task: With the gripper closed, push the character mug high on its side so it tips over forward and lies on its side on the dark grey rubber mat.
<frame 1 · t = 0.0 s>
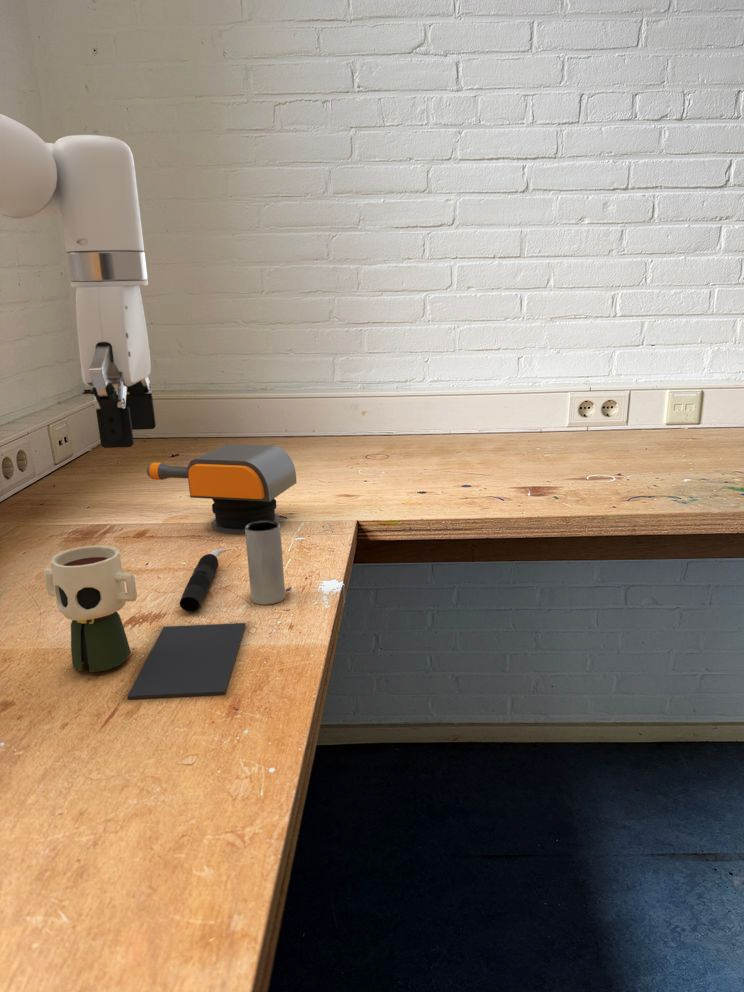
hand: (130, 437, 87), 25 cm above the table, tool pointing down, fingers open, 9 cm apart
mat: (192, 659, 91), on the table
grey hollow cylinder: (268, 599, 107), on the table
character mug: (102, 665, 90), on the table
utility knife: (208, 586, 112), on the table
toy turret: (219, 523, 141), on the table
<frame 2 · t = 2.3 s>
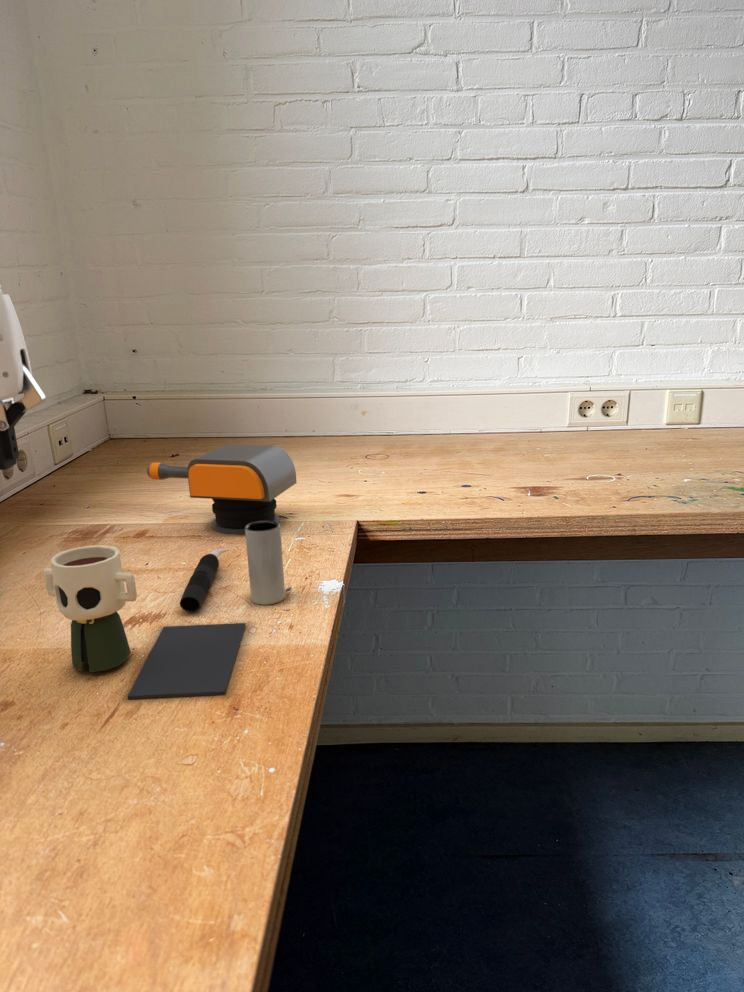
nothing on the table moved.
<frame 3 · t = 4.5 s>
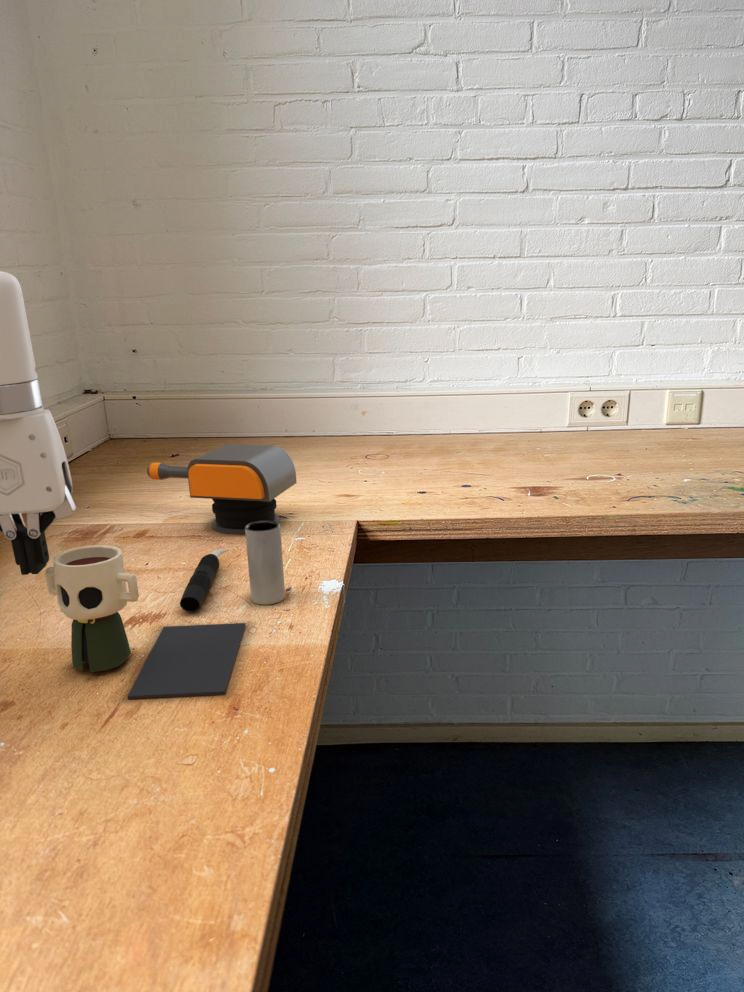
hand: (34, 569, 86), 12 cm above the table, tool pointing down, fingers closed
character mug: (102, 664, 90), on the table, touching gripper
everything else where it was.
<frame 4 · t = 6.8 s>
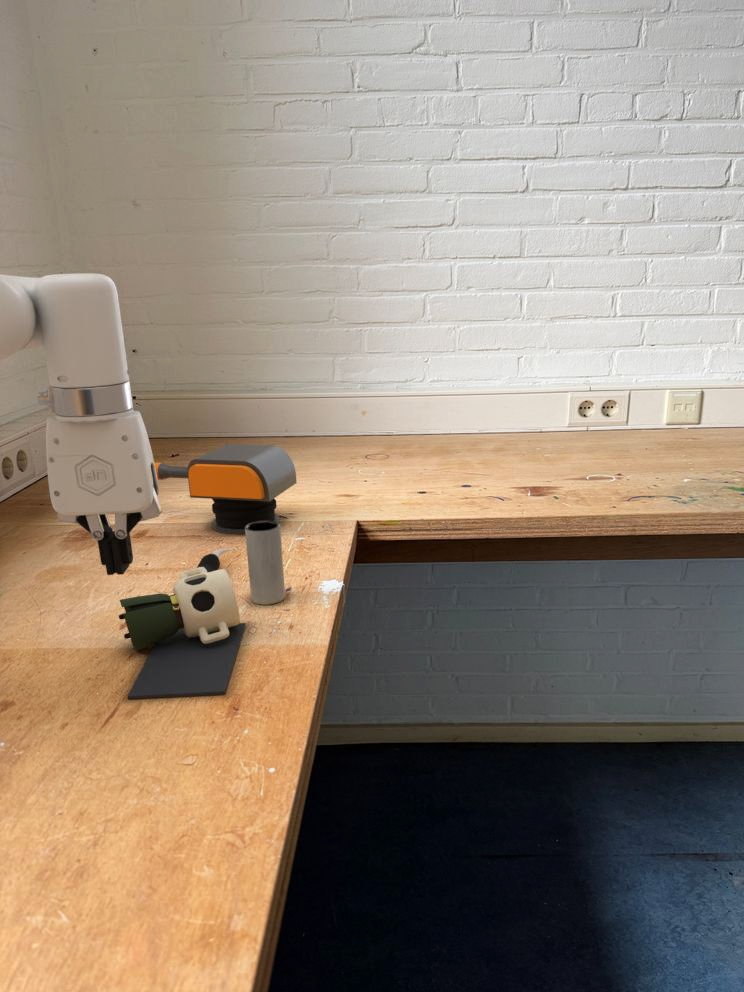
hand: (118, 570, 87), 11 cm above the table, tool pointing down, fingers closed
character mug: (119, 627, 92), point 3 cm above the table, touching mat
everything else where it was.
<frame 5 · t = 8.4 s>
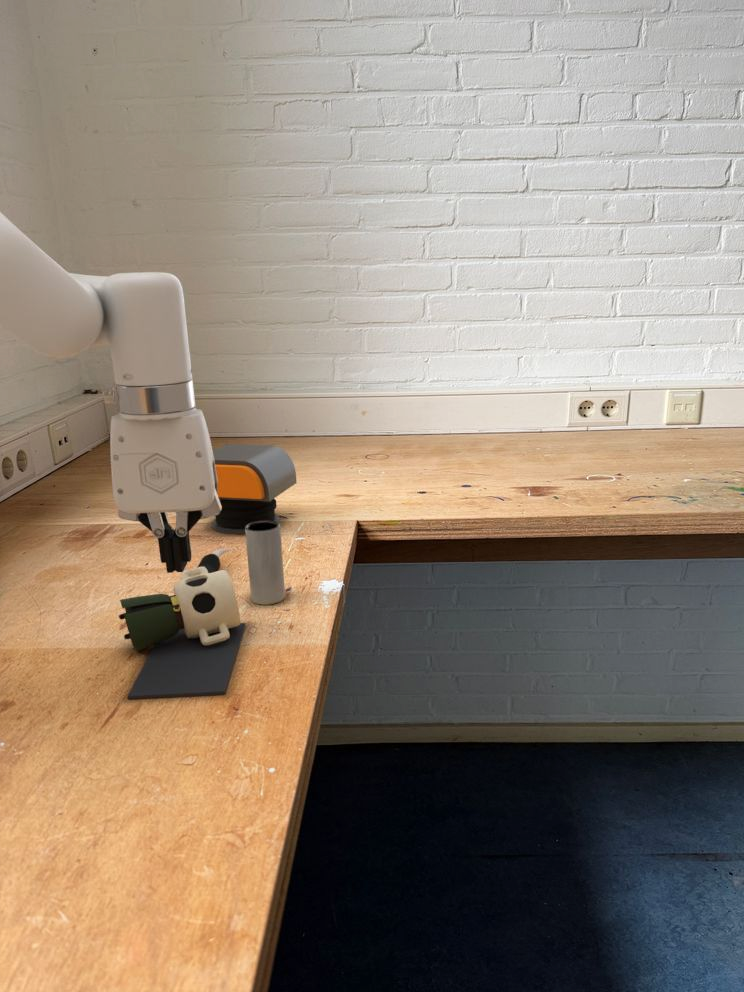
hand: (177, 567, 87), 11 cm above the table, tool pointing down, fingers closed
nothing on the table moved.
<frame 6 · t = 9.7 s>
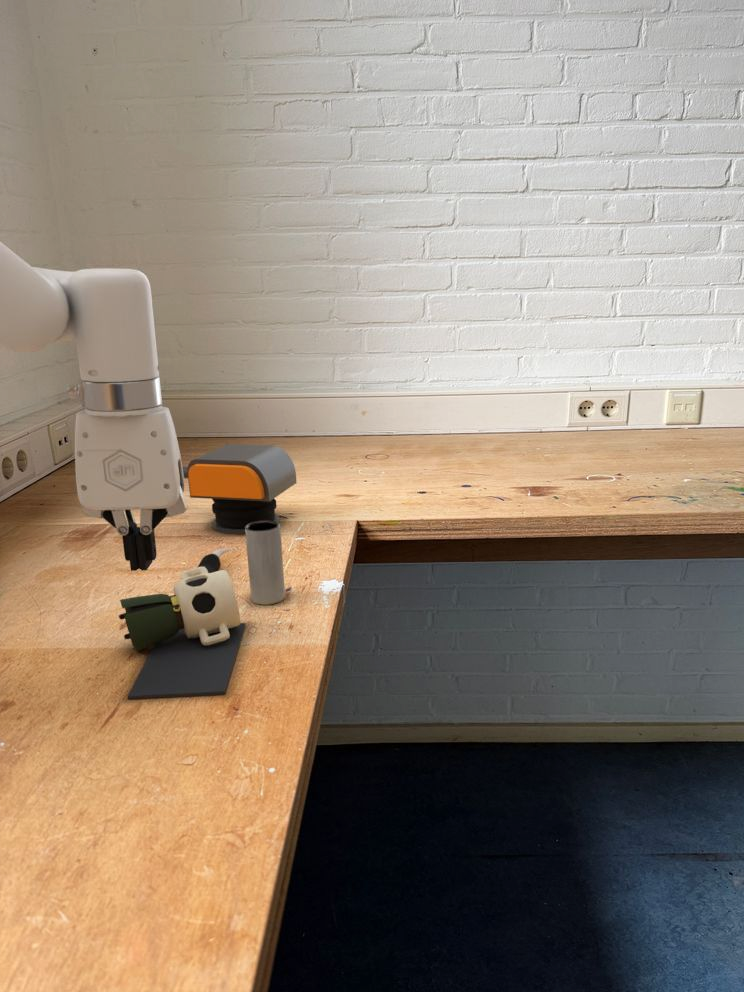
hand: (142, 566, 87), 12 cm above the table, tool pointing down, fingers closed
nothing on the table moved.
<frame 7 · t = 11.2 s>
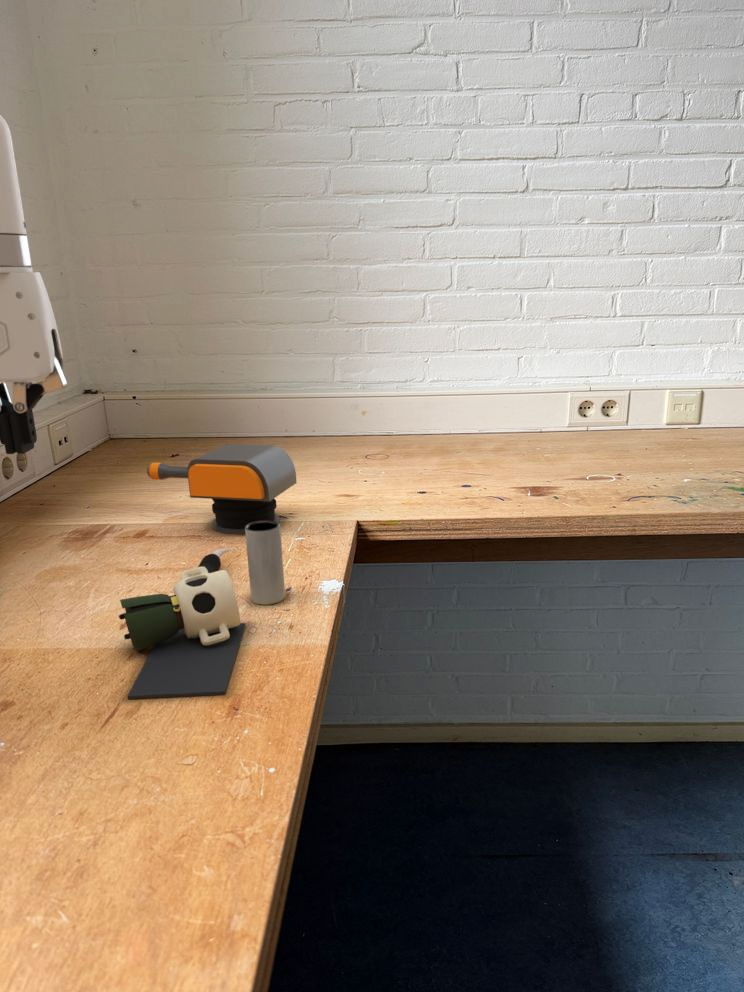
hand: (20, 450, 80), 25 cm above the table, tool pointing down, fingers closed
nothing on the table moved.
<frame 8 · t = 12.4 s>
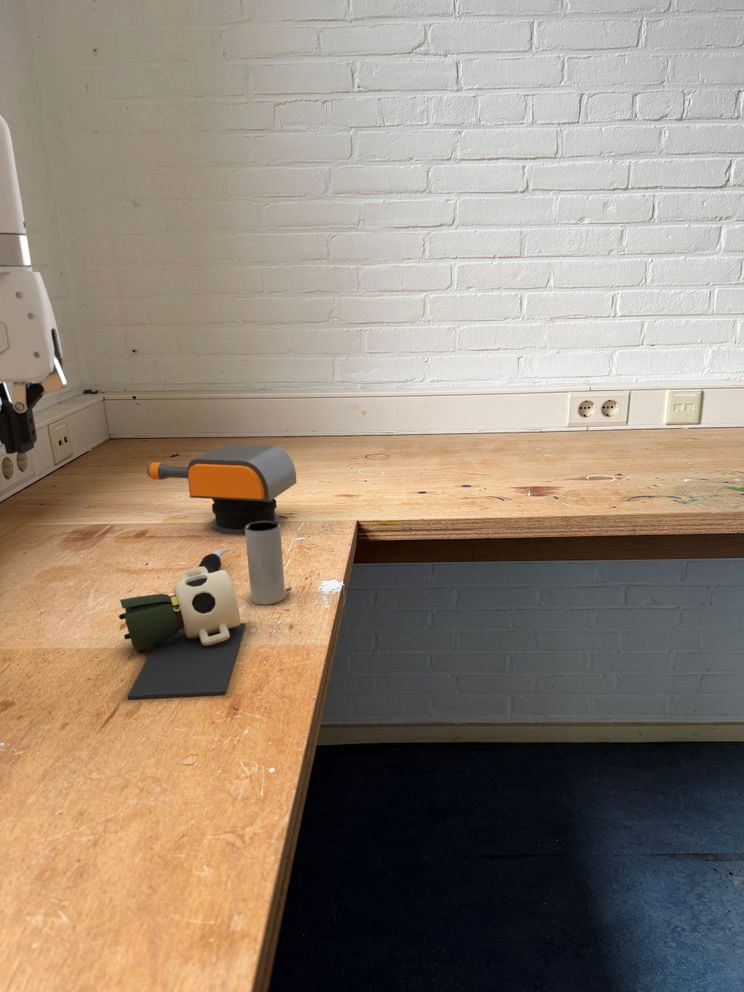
hand: (20, 450, 80), 25 cm above the table, tool pointing down, fingers closed
nothing on the table moved.
at the end: character mug tilted 84°; character mug inside the target area (6.0 cm from its centre), point 3.1 cm above the table; character mug touching mat, table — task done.
